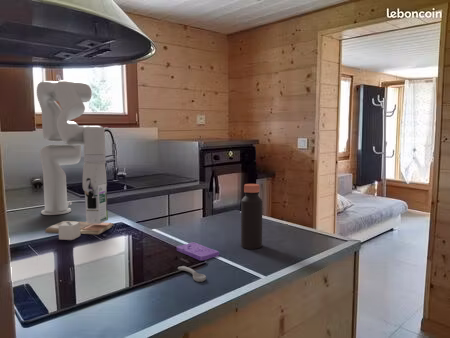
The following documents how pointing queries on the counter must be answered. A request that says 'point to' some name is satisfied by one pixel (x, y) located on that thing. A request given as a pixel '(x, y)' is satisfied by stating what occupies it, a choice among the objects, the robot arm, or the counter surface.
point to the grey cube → (69, 230)
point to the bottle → (251, 217)
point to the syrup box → (98, 206)
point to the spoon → (194, 274)
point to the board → (83, 227)
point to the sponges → (197, 251)
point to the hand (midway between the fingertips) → (96, 206)
